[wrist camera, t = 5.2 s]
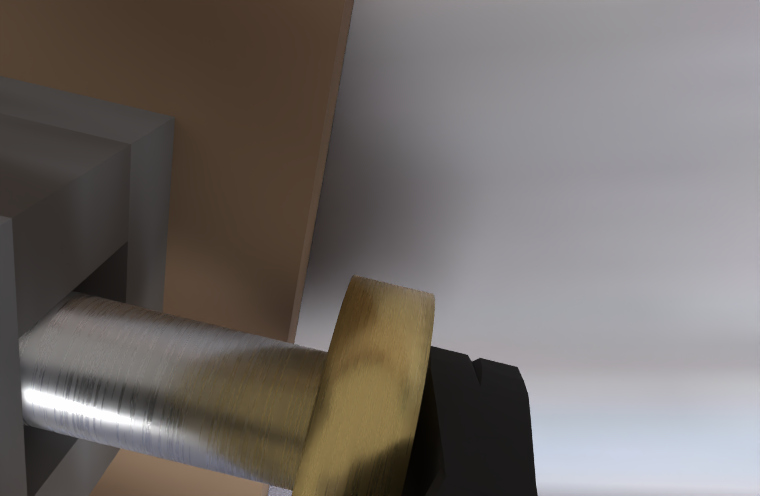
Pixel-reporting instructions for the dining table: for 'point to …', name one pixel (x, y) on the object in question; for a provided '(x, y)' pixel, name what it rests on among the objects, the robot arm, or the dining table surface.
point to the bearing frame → (156, 190)
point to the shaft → (239, 389)
